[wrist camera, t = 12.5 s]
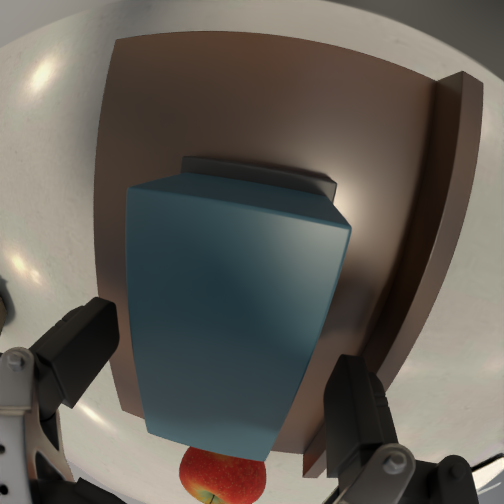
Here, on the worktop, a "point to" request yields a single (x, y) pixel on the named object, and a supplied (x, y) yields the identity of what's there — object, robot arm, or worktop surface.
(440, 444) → the worktop surface
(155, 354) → the teal eraser block
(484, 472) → the plate
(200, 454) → the apple
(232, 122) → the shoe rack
